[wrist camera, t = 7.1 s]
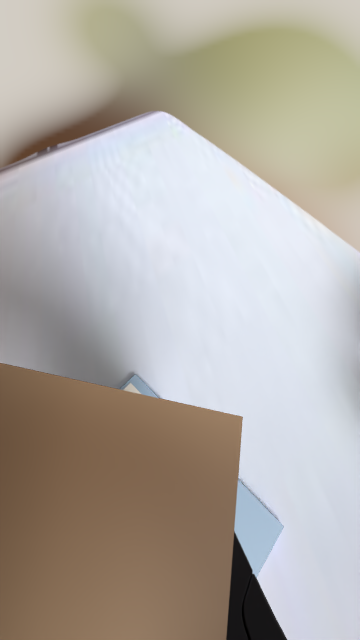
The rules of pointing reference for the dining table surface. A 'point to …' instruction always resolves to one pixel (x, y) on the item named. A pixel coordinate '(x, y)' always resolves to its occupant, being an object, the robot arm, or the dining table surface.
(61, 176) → the dining table surface
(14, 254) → the dining table surface
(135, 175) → the dining table surface
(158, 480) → the walnut column
